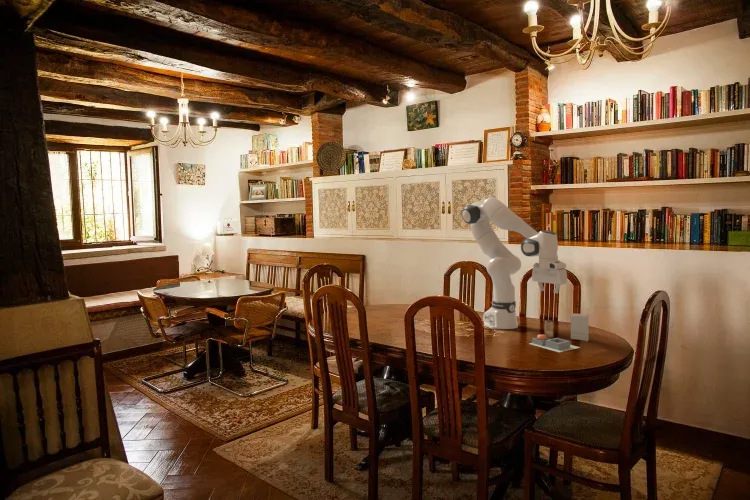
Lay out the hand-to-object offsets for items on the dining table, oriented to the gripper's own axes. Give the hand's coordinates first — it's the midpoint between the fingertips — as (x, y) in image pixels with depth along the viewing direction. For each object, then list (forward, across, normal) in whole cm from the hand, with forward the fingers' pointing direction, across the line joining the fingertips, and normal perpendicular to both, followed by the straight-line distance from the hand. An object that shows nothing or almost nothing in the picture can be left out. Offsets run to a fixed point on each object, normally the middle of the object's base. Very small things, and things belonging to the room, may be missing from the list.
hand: (548, 292), depth 255 cm
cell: (+24, 0, 0) cm, 24 cm away
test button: (+21, +8, -12) cm, 25 cm away
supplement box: (+24, +9, +11) cm, 28 cm away
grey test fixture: (+24, +13, -10) cm, 29 cm away
